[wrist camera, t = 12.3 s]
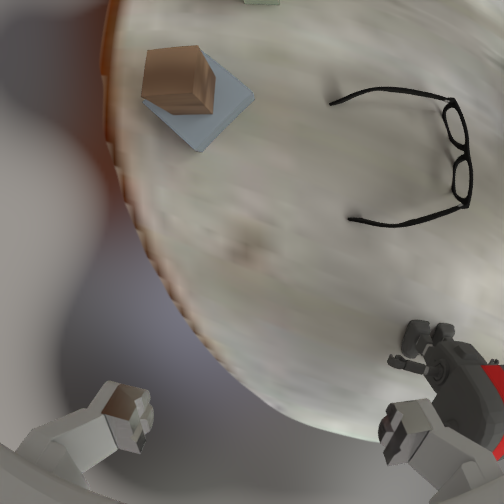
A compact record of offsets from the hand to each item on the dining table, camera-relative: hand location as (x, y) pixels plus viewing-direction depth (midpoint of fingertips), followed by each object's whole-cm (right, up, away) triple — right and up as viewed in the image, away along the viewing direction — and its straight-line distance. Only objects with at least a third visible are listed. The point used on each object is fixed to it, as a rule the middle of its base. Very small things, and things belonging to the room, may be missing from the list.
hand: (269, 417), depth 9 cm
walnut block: (-7, +22, +21) cm, 31 cm away
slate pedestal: (-7, +24, +24) cm, 35 cm away
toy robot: (+27, -8, +31) cm, 42 cm away
